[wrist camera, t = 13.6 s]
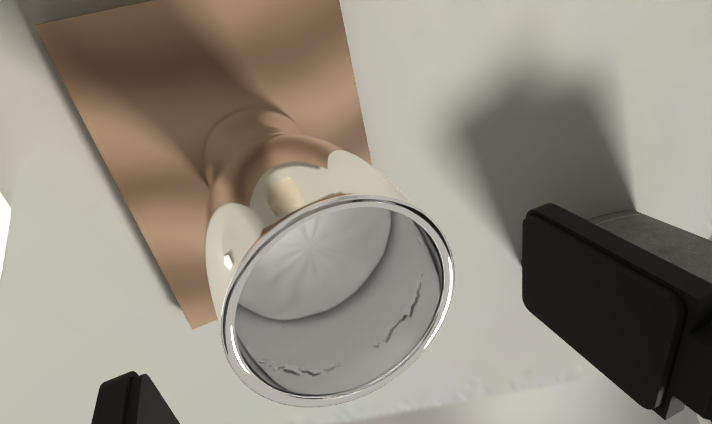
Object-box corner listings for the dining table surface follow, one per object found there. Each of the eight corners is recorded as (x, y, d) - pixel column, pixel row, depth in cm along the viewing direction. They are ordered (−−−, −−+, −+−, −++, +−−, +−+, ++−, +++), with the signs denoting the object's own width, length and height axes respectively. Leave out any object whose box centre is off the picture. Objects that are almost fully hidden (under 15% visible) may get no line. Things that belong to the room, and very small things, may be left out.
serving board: (43, 26, 19) (33, 25, 18) (323, -34, 23) (331, -38, 21) (191, 315, 28) (192, 329, 26) (380, 240, 31) (388, 250, 30)
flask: (522, 240, 37) (770, 392, 21) (641, 199, 41) (922, 301, 25) (520, 274, 38) (749, 438, 23) (634, 232, 42) (895, 346, 27)
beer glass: (164, 154, 22) (141, 329, 9) (266, 72, 22) (384, 126, 9) (251, 239, 25) (324, 448, 13) (338, 166, 26) (495, 299, 13)
